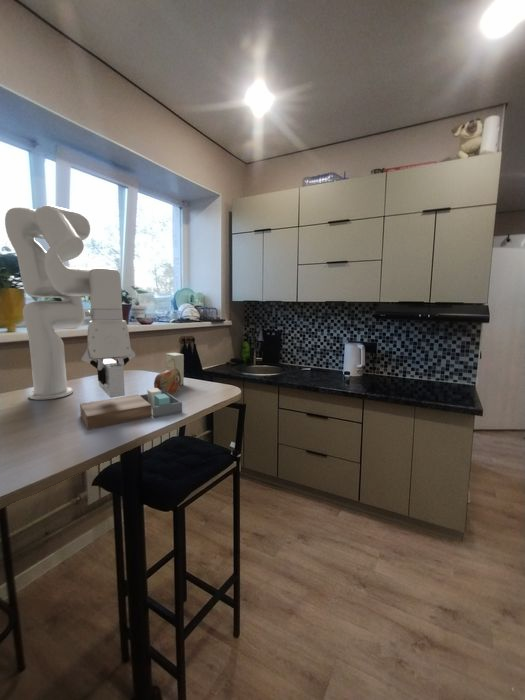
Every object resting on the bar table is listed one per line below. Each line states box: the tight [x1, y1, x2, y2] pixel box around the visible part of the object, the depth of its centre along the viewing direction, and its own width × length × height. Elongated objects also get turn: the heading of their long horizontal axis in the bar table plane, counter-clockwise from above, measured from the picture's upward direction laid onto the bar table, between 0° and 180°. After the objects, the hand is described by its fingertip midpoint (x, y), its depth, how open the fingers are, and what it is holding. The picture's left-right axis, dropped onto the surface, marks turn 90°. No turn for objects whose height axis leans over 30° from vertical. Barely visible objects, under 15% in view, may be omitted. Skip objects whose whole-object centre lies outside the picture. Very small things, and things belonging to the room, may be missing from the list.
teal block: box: [154, 394, 170, 407], centre depth 95 cm, size 4×4×3 cm
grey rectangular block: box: [98, 358, 126, 399], centre depth 90 cm, size 4×14×8 cm, turn 37°
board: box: [79, 394, 153, 431], centre depth 91 cm, size 12×16×4 cm
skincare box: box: [165, 352, 185, 386], centre depth 126 cm, size 6×4×12 cm
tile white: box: [146, 387, 161, 407], centre depth 101 cm, size 4×4×3 cm
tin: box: [153, 369, 181, 396], centre depth 113 cm, size 15×3×8 cm, turn 168°
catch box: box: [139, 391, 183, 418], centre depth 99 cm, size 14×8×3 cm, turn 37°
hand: (111, 381), depth 90 cm, fingers closed on grey rectangular block, 3 cm apart
